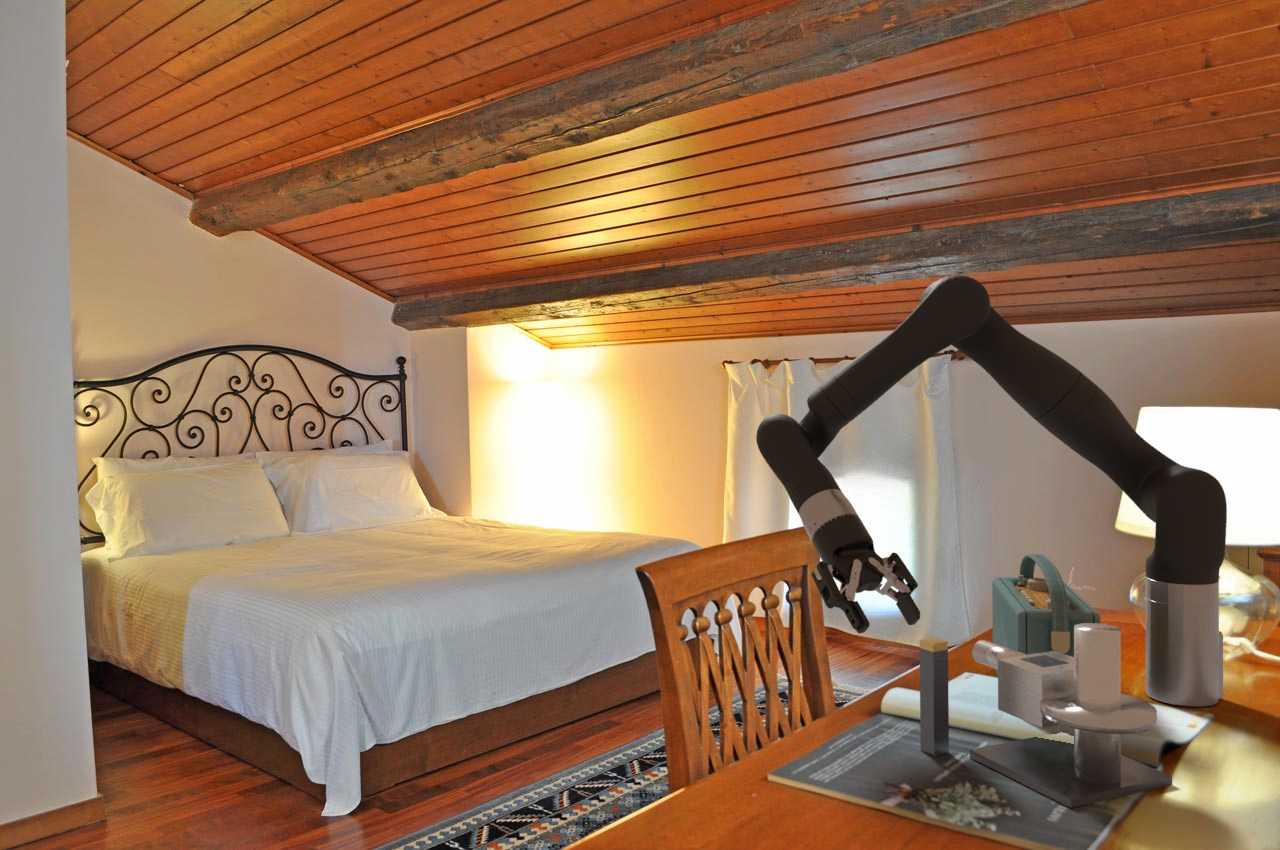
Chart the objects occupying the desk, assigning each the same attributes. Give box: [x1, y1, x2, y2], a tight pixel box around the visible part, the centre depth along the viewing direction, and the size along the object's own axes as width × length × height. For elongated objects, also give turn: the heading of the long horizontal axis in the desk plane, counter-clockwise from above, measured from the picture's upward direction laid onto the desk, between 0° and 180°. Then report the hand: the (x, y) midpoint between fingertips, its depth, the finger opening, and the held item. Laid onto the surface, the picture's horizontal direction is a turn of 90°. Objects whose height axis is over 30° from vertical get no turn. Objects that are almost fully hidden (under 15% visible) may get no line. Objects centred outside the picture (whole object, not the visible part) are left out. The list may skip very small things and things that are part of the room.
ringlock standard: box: [969, 623, 1173, 809], centre depth 119 cm, size 15×25×18 cm, turn 22°
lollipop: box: [1067, 567, 1098, 592], centre depth 181 cm, size 6×10×12 cm, turn 44°
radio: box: [991, 553, 1101, 676], centre depth 146 cm, size 26×11×20 cm, turn 168°
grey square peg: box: [919, 636, 950, 757], centre depth 124 cm, size 2×2×14 cm
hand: (890, 625), depth 131 cm, fingers open, 8 cm apart
